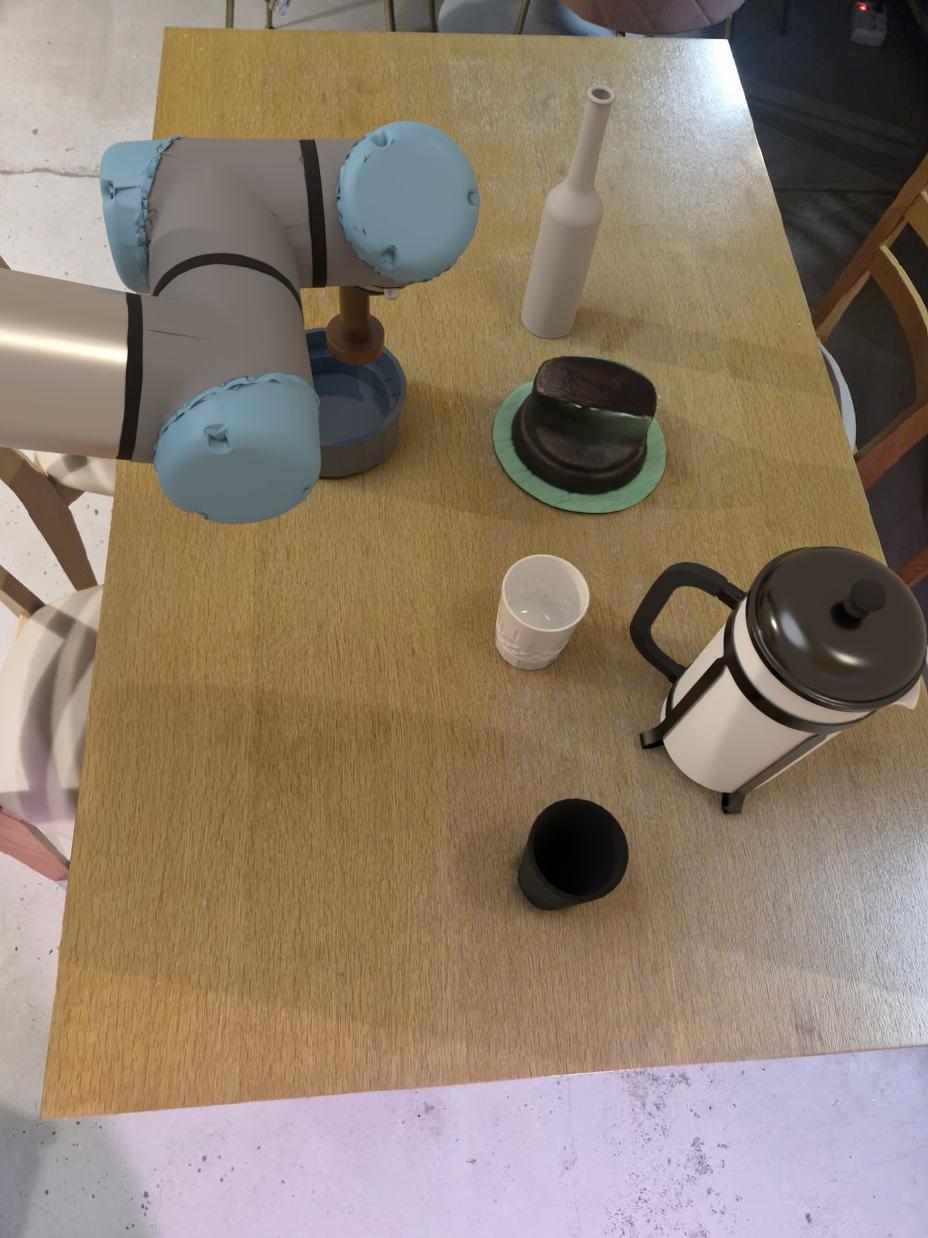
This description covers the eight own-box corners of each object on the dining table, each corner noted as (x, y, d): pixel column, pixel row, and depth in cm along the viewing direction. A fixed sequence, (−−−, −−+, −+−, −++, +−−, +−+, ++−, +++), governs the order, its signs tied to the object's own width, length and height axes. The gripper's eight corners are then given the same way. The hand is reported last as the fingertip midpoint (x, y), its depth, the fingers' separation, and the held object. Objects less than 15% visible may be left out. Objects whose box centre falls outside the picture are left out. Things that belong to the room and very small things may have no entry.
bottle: (578, 337, 104) (643, 113, 79) (526, 340, 103) (575, 114, 78) (567, 298, 107) (626, 71, 82) (516, 300, 106) (560, 70, 81)
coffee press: (772, 661, 86) (950, 485, 60) (801, 818, 79) (1019, 698, 52) (605, 655, 85) (711, 472, 58) (619, 814, 77) (747, 689, 51)
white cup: (531, 591, 87) (549, 539, 78) (583, 647, 85) (607, 599, 76) (472, 633, 84) (484, 583, 76) (524, 691, 82) (543, 648, 73)
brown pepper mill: (325, 364, 81) (313, 193, 65) (327, 321, 84) (316, 146, 68) (384, 366, 82) (386, 197, 66) (384, 323, 85) (386, 150, 68)
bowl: (252, 479, 90) (245, 443, 85) (261, 364, 97) (255, 324, 92) (405, 482, 92) (407, 447, 87) (403, 368, 99) (405, 330, 94)
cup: (532, 817, 77) (558, 779, 66) (606, 863, 75) (645, 831, 65) (489, 892, 73) (509, 865, 63) (567, 941, 72) (601, 922, 61)
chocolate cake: (658, 369, 102) (692, 510, 93) (513, 418, 108) (532, 555, 99) (630, 282, 89) (665, 437, 81) (467, 343, 95) (484, 493, 87)
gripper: (269, 302, 57) (267, 314, 79) (496, 283, 60) (434, 299, 82) (250, 179, 55) (254, 226, 77) (488, 165, 58) (426, 214, 80)
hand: (347, 264), depth 79 cm, fingers closed on brown pepper mill, 3 cm apart
